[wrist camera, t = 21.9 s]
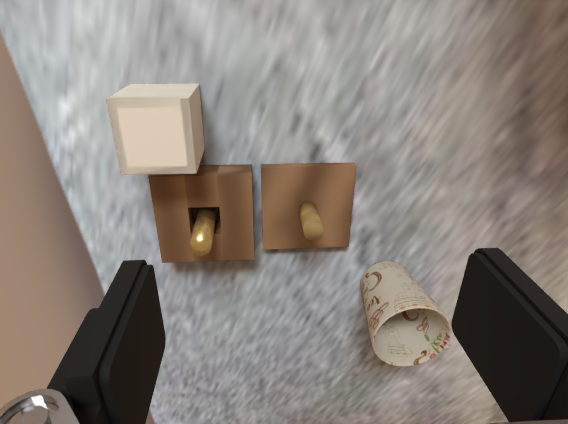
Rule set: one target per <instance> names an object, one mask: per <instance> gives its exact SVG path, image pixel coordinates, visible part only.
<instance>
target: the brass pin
mask: <svg viewBox="0 0 568 424" xmlns="http://www.w3.org/2000/svg"><path fill="white" fill-rule="evenodd" d="M217 210H218V207H199V210H198V214H197V218H196V222H195V226H194V229H193V233H192V237H191V241H190V245H189V248H190V250H191V252H192V253H193V254H195V255H198V256H203V255H206V254H208V253H209V252H210V250H211V246H212V240H213V234H214V228H215V222H216V216H217Z"/></svg>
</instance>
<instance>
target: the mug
mask: <svg viewBox="0 0 568 424" xmlns="http://www.w3.org/2000/svg"><path fill="white" fill-rule="evenodd" d="M360 285H361V292H362V297H363V302H364V307H365V313H366V318H367V323H368V328H369V333H370V339H371V343H372V347H373V350H374V352H375V353H376V355H377V356H378V357H379V358H380V359H381V360H382V361H384V362H386V363H388V364H391V365H395V366H412V365H417V364H420V363H423V362H425V361H428V360H430V359H431V358H433V357H434V356H436V355H437V354H438V353H439V352H440V351H441V350H442V349H443V350H446V349H448V348H449V346H450V340H449V338H450V334H451V327H450V323H449V320H448V319H447V317H446V315H445V314H444V313H443V312H442V310H441V309H440V308H439V307H438V306H437V305H436V304H435V302H434V301H433V300H432V299H431V298H430V297H429V296H428V295H427V293H426V292H425V291H424V290H423V289H422V288H421V287H420V285H419V284H418V283H417V282H416V281H415V280H414V279H413V277H412V276H411V275H410V274H409V273H408V272H407V271H406V270H405V269H404V267H402V266H401V265H400V264H398V263H396V262H392V261H383V262H379V263H376V264H374V265H372V266H371V267H369V268H368V269H367V270H366V271H365V272H364V274H363V276H362V278H361V283H360Z"/></svg>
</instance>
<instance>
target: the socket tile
mask: <svg viewBox="0 0 568 424" xmlns="http://www.w3.org/2000/svg"><path fill="white" fill-rule="evenodd" d="M149 183H150V189H151V195H152V202H153V208H154V214H155V220H156V227H157V233H158V239H159V245H160V252H161V258H162V263H168V262H197V261H225V260H254V222H253V190H252V165H200V166H199V167H198V170H197V173H194V174H150V176H149ZM193 207H219V208H220V221H216V222H215V228H214V234H213V240H212V246H211V250H210V252H209V253H208V254H206V255H203V256H198V255H195V254H193V253H192V252H191V250H190V248H189V245H190V241H191V237H192V233H193V229H194V226H195V222H196V221H194V212H193Z"/></svg>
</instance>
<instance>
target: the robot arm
mask: <svg viewBox="0 0 568 424" xmlns="http://www.w3.org/2000/svg"><path fill="white" fill-rule="evenodd" d="M452 330H453V333H454V335H455V336H456V338H457V340H458V341H459V343H460V344H461V346H462V347H463V349H464V351H465V352H466V354H467V355H468V357H469V359H470V360H471V362H472V363H473V365H474V367H475V368H476V370H477V371H478V373H479V375H480V376H481V378H482V379H483V381H484V383H485V384H486V386H487V387H488V389H489V391H490V392H491V394H492V395H493V397H494V399H495V400H496V402H497V403H498V405H499V406H500V408H501V410H502V411H503V413H504V414H505V416H506V418H507V419H508V421H509V422H506V423H489V424H568V314H567V313H566V312H565V311H564V310H563V309H562V308H561V307H560V306H559V305H558V304H557V303H556V302H555V301H554V300H553V299H551V298H550V297H549V296H548V295H547V294H546V293H545V292H544V291H543V290H542V289H541V288H540V287H539V286H538V285H537V284H536V283H535V282H534V281H533V280H532V279H531V278H530V277H528V276H527V275H526V274H525V273H524V272H523V271H522V270H521V269H520V268H519V267H518V266H517V265H516V264H515V263H514V262H513V261H512V260H511V259H510V258H509V257H508V256H507V255H506V254H504V253H503V252H502V251H501V250H500V249H499V248H479V249H476V250H475V252H474V253H472V254H471V255H470V256H469V258H468V262H467V266H466V269H465V273H464V277H463V281H462V285H461V288H460V292H459V296H458V300H457V304H456V307H455V311H454V315H453V319H452ZM164 349H165V331H164V325H163V319H162V313H161V308H160V302H159V296H158V290H157V284H156V279H155V273H154V268H153V265H147V263H146V261H145V260H129V261H123V262H122V264H121V266H120V268H119V270H118V272H117V274H116V276H115V278H114V280H113V282H112V283H111V285H110V287H109V289H108V291H107V293H106V295H105V297H104V299H103V301H102V303H101V305H100V307H99V308H93V309H91V310H90V311H89V312H88V313H87V315H86V317H85V318H84V320H83V322H82V324H81V326H80V328H79V330H78V331H77V333H76V335H75V337H74V339H73V341H72V342H71V344H70V346H69V348H68V350H67V352H66V354H65V355H64V357H63V359H62V361H61V363H60V365H59V367H58V368H57V370H56V372H55V374H54V376H53V378H52V379H51V381H50V383H49V385H48V387H47V388H46V389H38V390H34V391H29V392H27V393H25V394H23V395H20V396H18V397H16V398H15V399H13V400H11V401H10V402H8V403H7V404H5V405H4V406H3V407H2V408H1V409H0V424H145V423H146V419H147V415H148V411H149V407H150V403H151V399H152V396H153V392H154V388H155V384H156V380H157V376H158V372H159V368H160V364H161V361H162V357H163V353H164Z"/></svg>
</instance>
